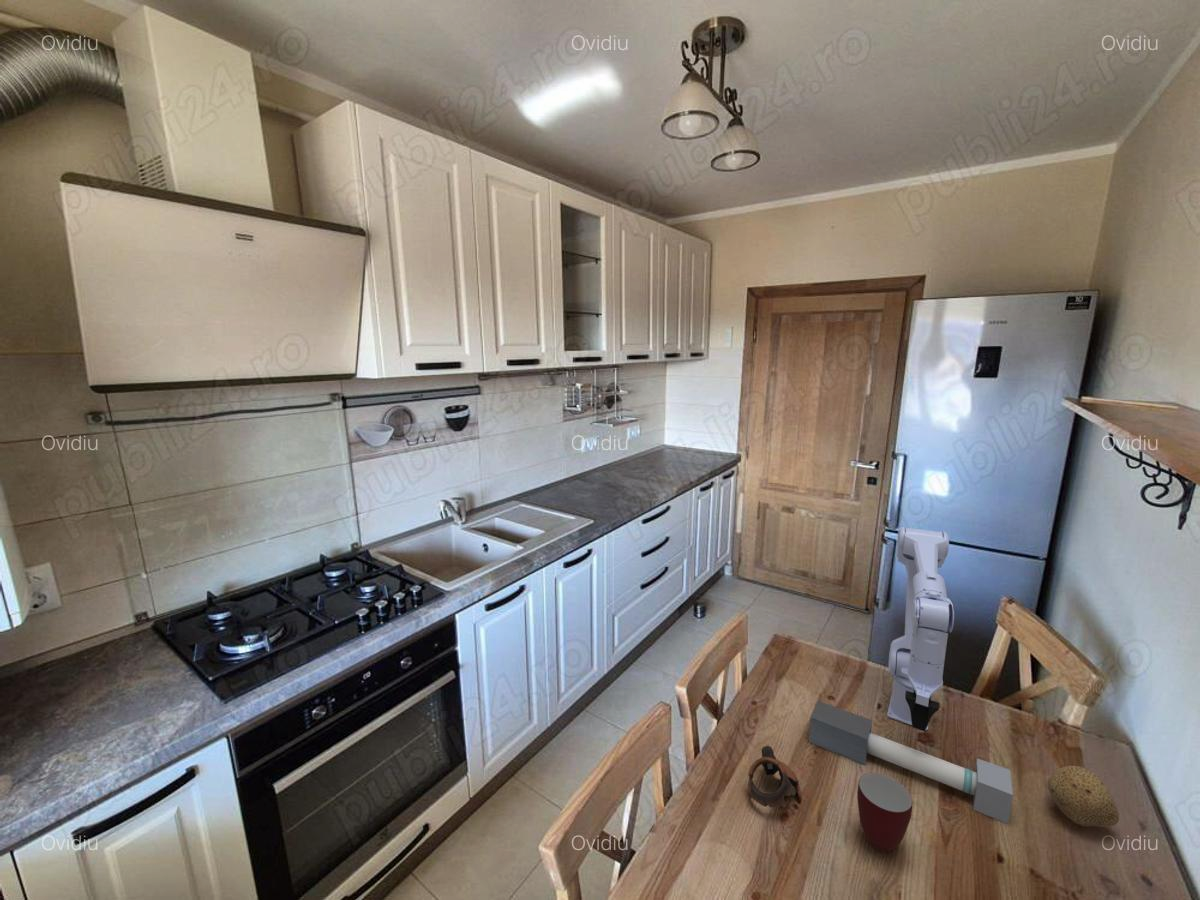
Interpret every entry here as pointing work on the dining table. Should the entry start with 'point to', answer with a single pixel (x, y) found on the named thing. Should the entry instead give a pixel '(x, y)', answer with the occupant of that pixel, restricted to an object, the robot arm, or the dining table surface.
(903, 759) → the tube
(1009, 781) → the socket
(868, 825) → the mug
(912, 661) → the robot arm
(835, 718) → the grey stone block
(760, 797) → the brown ring clamp
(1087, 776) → the natural sponge
